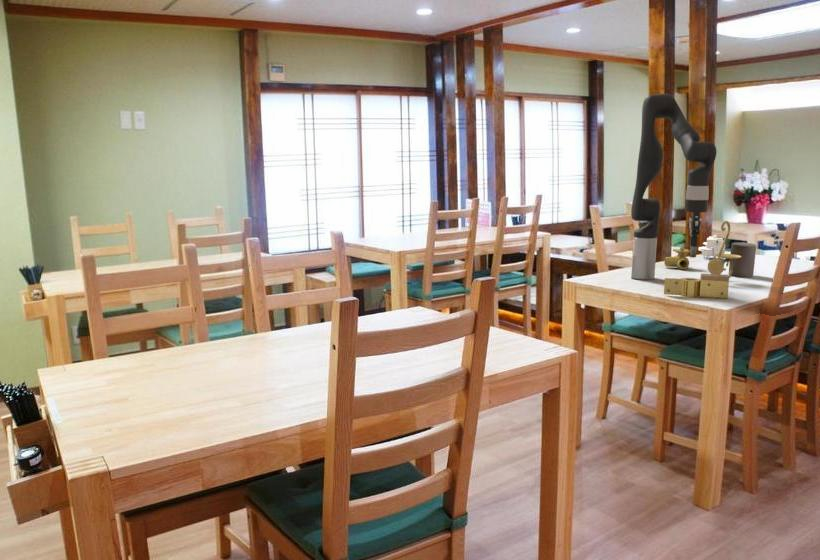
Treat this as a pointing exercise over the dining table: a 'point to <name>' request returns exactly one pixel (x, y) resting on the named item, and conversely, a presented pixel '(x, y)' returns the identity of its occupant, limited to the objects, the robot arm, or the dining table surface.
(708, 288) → the hinge block
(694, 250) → the hinge pin
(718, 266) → the wall sconce
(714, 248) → the mechanical part
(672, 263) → the ball valve
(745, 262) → the pillar candle
